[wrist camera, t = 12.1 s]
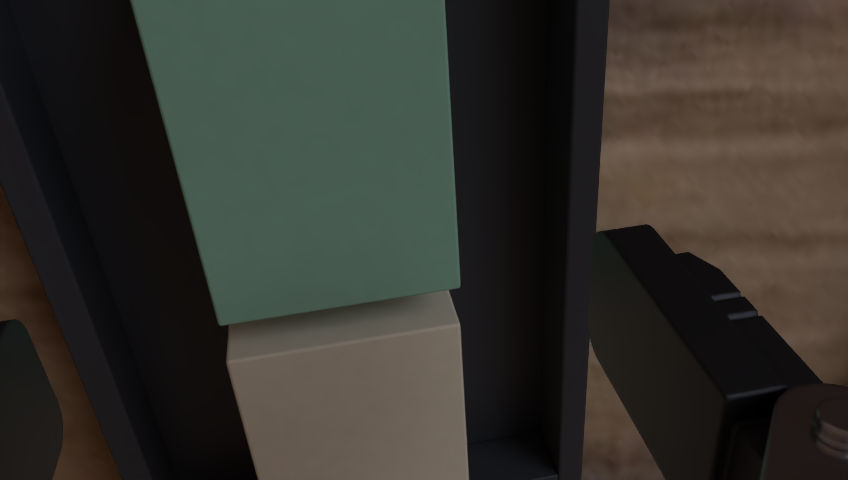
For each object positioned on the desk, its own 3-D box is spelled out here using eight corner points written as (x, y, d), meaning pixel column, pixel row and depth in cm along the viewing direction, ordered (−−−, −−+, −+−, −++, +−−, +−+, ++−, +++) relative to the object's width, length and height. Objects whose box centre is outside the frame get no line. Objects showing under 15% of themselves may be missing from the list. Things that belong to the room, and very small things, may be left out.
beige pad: (281, 467, 25) (283, 575, 22) (232, 266, 21) (225, 362, 18) (446, 438, 26) (472, 539, 22) (431, 236, 22) (460, 324, 18)
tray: (166, 502, 26) (157, 567, 24) (-78, -146, 15) (-133, -132, 13) (557, 432, 27) (581, 487, 25) (579, -206, 17) (623, -202, 15)
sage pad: (226, 235, 20) (218, 328, 17) (147, -88, 16) (115, -49, 13) (430, 205, 21) (461, 289, 18) (406, -115, 17) (441, -84, 13)
